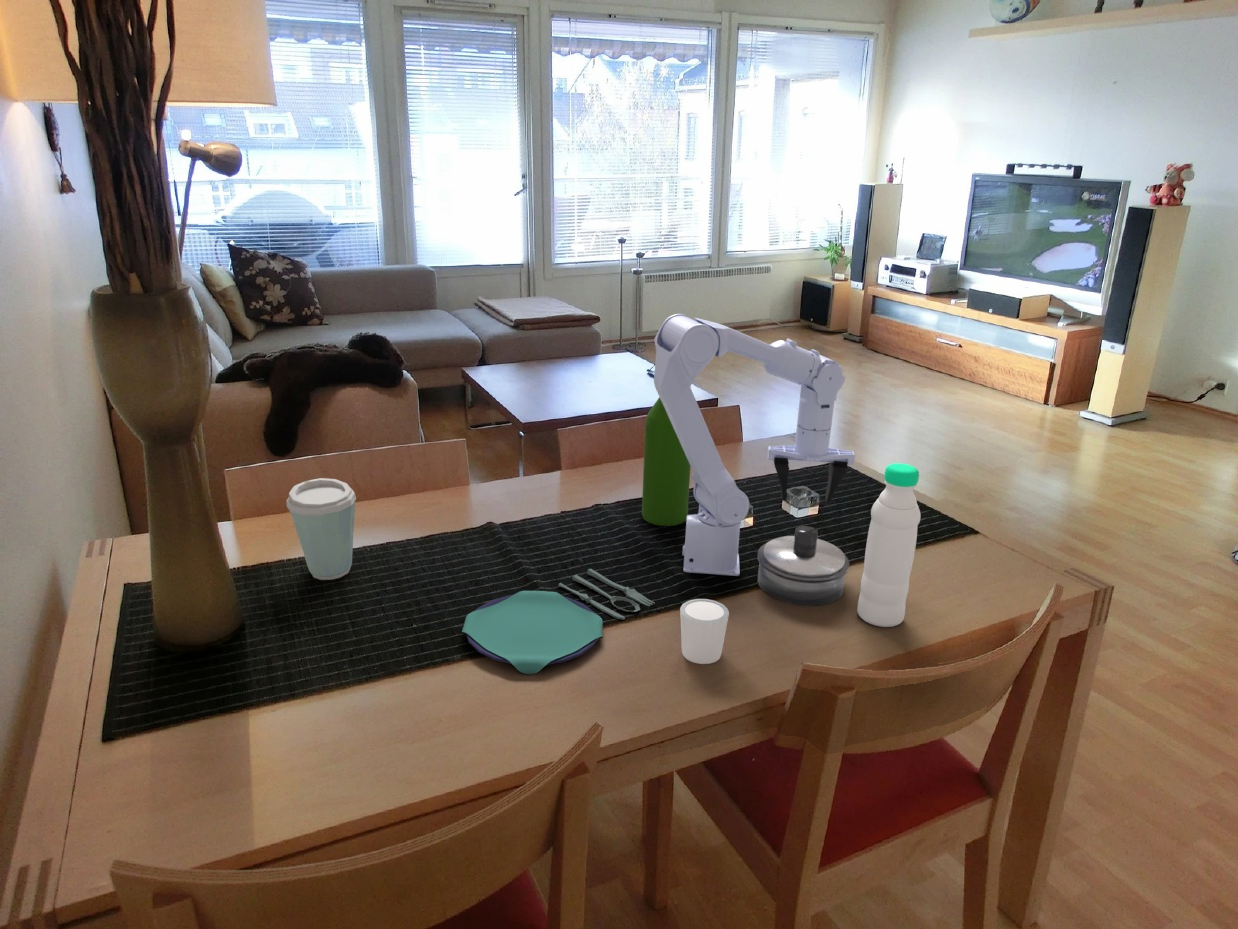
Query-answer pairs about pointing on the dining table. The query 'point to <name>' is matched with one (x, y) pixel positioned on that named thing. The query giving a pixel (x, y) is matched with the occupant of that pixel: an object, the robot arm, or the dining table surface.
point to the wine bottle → (664, 471)
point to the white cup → (703, 630)
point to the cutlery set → (542, 625)
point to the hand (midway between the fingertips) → (805, 499)
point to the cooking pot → (800, 585)
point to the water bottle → (890, 548)
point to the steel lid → (804, 555)
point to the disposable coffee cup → (324, 525)
